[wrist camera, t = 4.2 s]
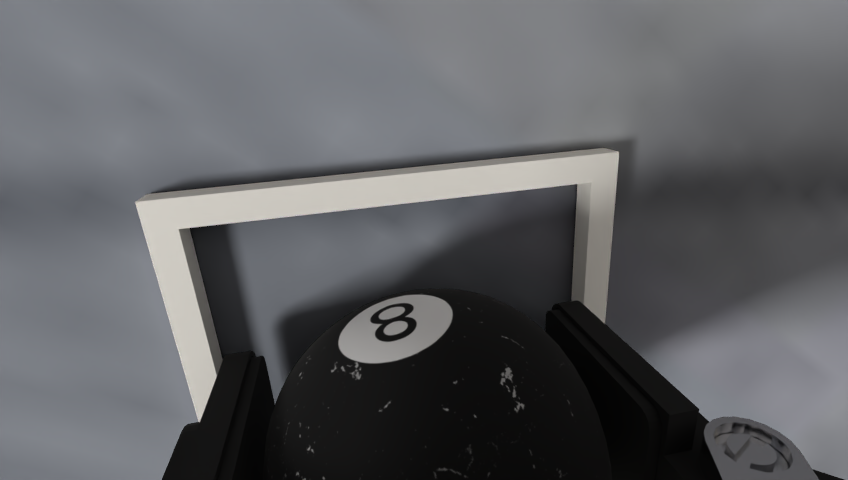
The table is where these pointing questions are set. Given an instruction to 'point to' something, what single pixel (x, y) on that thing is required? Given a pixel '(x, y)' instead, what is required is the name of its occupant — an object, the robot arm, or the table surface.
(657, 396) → the robot arm
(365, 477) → the billiard ball
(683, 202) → the table surface
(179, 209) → the board
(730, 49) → the table surface
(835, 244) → the table surface
